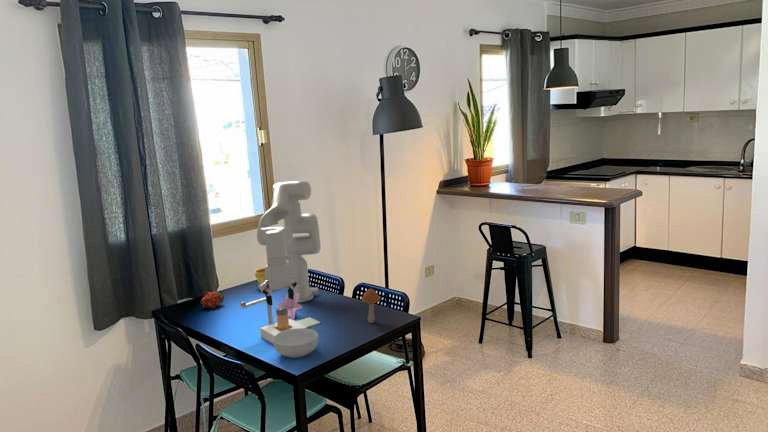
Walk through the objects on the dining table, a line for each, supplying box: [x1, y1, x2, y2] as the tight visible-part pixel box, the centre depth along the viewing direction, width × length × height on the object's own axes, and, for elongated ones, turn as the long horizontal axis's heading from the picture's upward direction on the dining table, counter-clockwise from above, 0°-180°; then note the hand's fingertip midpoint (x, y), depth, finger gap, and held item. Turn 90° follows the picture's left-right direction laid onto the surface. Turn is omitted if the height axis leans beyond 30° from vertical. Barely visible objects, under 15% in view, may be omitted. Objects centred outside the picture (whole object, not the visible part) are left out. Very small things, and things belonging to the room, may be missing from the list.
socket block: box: [259, 303, 308, 345], centre depth 244 cm, size 14×20×13 cm
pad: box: [295, 316, 321, 329], centre depth 256 cm, size 9×9×1 cm
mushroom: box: [361, 287, 381, 324], centre depth 252 cm, size 8×8×15 cm
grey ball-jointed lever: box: [239, 296, 266, 309], centre depth 245 cm, size 14×3×2 cm, turn 135°
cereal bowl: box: [273, 328, 319, 359], centre depth 225 cm, size 17×17×7 cm
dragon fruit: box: [199, 290, 225, 309], centre depth 286 cm, size 8×8×12 cm
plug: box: [275, 307, 289, 331], centre depth 242 cm, size 5×5×12 cm
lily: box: [275, 293, 303, 321], centre depth 267 cm, size 12×12×10 cm
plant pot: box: [254, 267, 267, 291], centre depth 311 cm, size 10×10×10 cm
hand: (280, 301), depth 240 cm, fingers open, 9 cm apart
